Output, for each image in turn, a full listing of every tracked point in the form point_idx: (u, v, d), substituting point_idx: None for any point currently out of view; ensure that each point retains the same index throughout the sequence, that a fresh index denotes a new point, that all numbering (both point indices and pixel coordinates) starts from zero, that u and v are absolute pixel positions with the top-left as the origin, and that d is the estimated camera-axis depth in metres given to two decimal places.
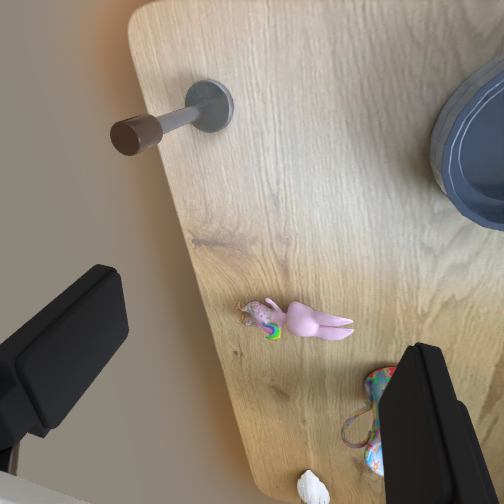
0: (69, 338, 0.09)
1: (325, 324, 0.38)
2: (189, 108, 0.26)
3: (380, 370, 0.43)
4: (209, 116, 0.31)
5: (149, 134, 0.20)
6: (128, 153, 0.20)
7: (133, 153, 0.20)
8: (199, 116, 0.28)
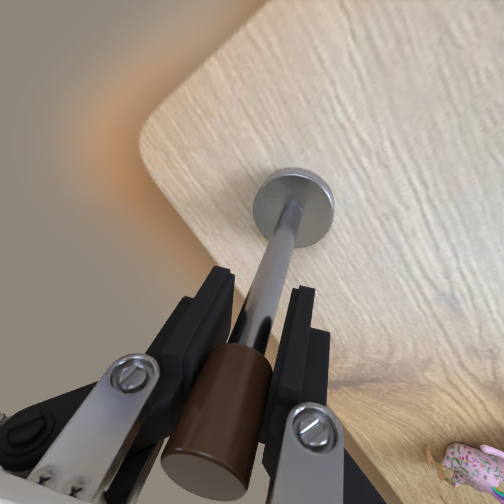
0: (209, 336, 0.09)
1: None
2: (278, 244, 0.14)
3: None
4: (299, 224, 0.18)
5: (253, 420, 0.07)
6: (222, 499, 0.07)
7: (234, 499, 0.07)
8: (294, 243, 0.15)
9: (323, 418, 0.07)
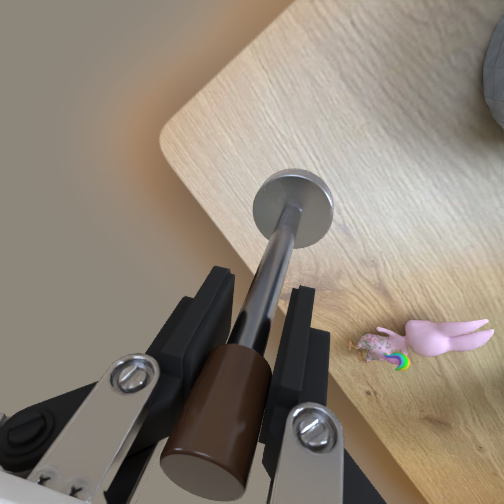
0: (209, 336, 0.09)
1: (456, 334, 0.33)
2: (277, 245, 0.14)
3: None
4: (299, 225, 0.19)
5: (252, 420, 0.07)
6: (221, 499, 0.07)
7: (234, 499, 0.07)
8: (293, 244, 0.15)
9: (323, 418, 0.07)
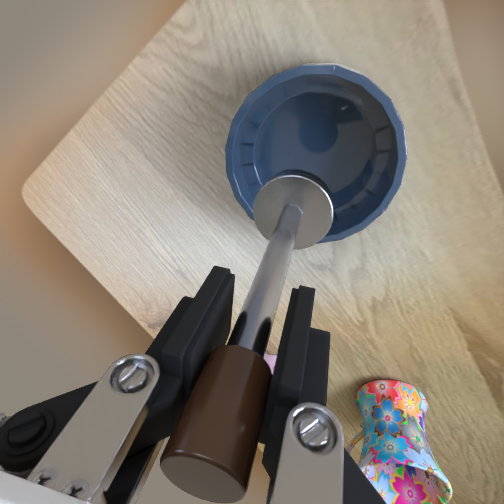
0: (209, 336, 0.09)
1: (272, 365, 0.39)
2: (277, 246, 0.14)
3: (360, 389, 0.41)
4: (299, 225, 0.19)
5: (252, 422, 0.07)
6: (221, 501, 0.07)
7: (234, 501, 0.07)
8: (294, 244, 0.15)
9: (323, 418, 0.07)
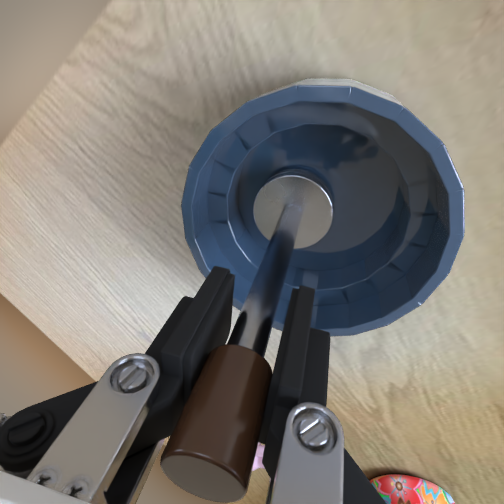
0: (209, 336, 0.09)
1: (259, 456, 0.30)
2: (277, 245, 0.14)
3: None
4: (299, 225, 0.19)
5: (253, 421, 0.07)
6: (222, 500, 0.07)
7: (234, 500, 0.07)
8: (294, 244, 0.15)
9: (323, 418, 0.07)
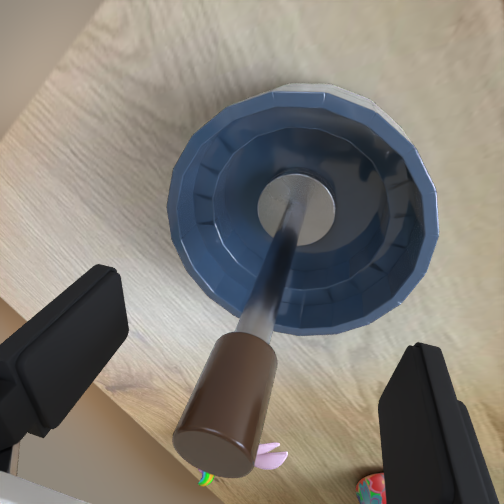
0: (69, 338, 0.09)
1: None
2: (281, 241, 0.15)
3: (362, 481, 0.33)
4: (302, 222, 0.19)
5: (259, 402, 0.08)
6: (230, 476, 0.08)
7: (242, 475, 0.07)
8: (297, 240, 0.16)
9: None
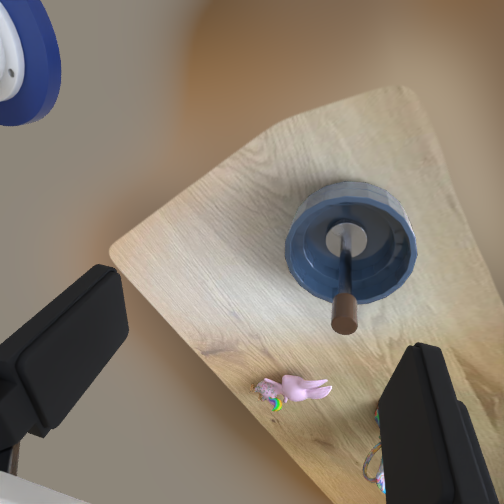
0: (69, 338, 0.09)
1: (308, 388, 0.49)
2: (346, 258, 0.32)
3: None
4: None
5: (356, 312, 0.26)
6: (348, 333, 0.25)
7: (352, 332, 0.25)
8: (351, 257, 0.34)
9: None
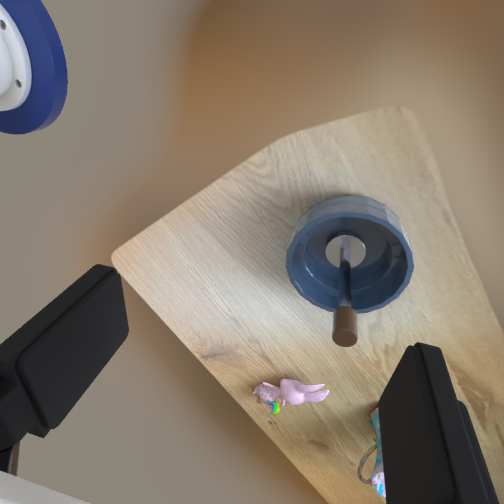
0: (69, 338, 0.09)
1: (306, 392, 0.50)
2: (346, 270, 0.34)
3: (374, 411, 0.52)
4: None
5: (356, 325, 0.27)
6: (348, 345, 0.27)
7: (352, 344, 0.26)
8: (350, 268, 0.35)
9: None
